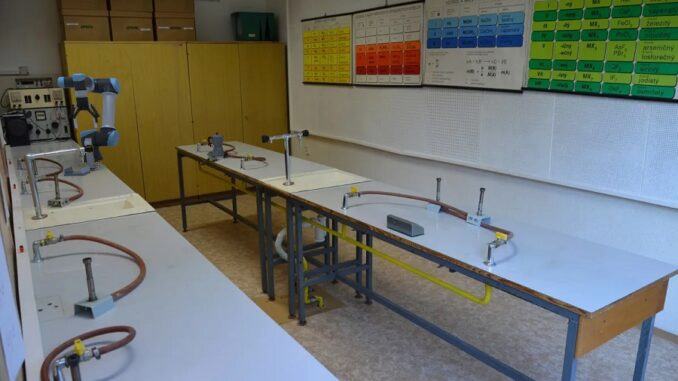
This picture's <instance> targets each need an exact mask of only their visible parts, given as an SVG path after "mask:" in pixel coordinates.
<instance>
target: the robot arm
mask: <svg viewBox="0 0 678 381" xmlns="http://www.w3.org/2000/svg"><path fill="white" fill-rule="evenodd" d="M57 86H58V87H59V88H60V89H74V95H75V103H76V104H75V103H73V104H72V105H71V109H70V113H69V116H68V118H69V119H72V124H73V125H74V129H78V128H79V126H78V120H77V118H76V117H78V115H79V114H80V112H81V111H84V112H85V111H86V112H88V113H89V114H90V115H91V116H92V118H93V119H92V120H93V126H94V129H88V130H83V131H80V133H79V134H80V136H79V137H80V144H81V148H82V147H84V146H85V144H84V142H85V138H91V140H92V145H93V147H94V150H93V154H94V159H95V162H100V161H103V160H104V156H103V154H102V152H101V150H100V147H116V146H117V145H118V143H119V141H120V132H119V131H118V130H117V128H116V127H115V122H116V121H115V118H116V98H118V96H119V94H120V93H121V92H122V88H121V83H120V81H119V80H118V79H117V78H114V77H107V78H106V77H105V78H103V77H101V78H93V77H92V76H89V75H85V74H84V73H72V76H59V77H58V78H57ZM88 93H93V94H101V96H102V121H101V126H100V127H99V130H97V129H96V128H98V123H99V120H98V118H100V117H101V115H100V114H99V112H98V110H97V108H96V107H95V104H94V103H89V98H88ZM84 161H85V162H84V163H87V157H86V153H85V155H84Z"/></svg>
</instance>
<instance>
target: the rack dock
mask: <svg viewBox="0 0 678 381" xmlns="http://www.w3.org/2000/svg"><path fill="white" fill-rule="evenodd" d="M86 166H87V167H86ZM86 166H85V167H82V168H81V169H80V170H73V166H72V165H71V166H68V167H66V168H63V169H62V171H63V177H73V176H74V177H76V176H77V177H78V176H79V177H80V176H86V175H89V174H90V173H91V170H90V166H88V165H86Z"/></svg>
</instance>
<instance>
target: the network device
mask: <svg viewBox="0 0 678 381" xmlns="http://www.w3.org/2000/svg"><path fill="white" fill-rule="evenodd" d="M84 144H85V146H87V145H92V140H91V138H85V142H84ZM86 157H87V162H86V163H87V164H86V165H85V167H87V166H90V168H91V169H90V171H96V170H97V171H98V170H100V165H99V164H96V161H95V159H94V154H93V152H91V153H86Z"/></svg>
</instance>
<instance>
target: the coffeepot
mask: <svg viewBox="0 0 678 381" xmlns="http://www.w3.org/2000/svg"><path fill="white" fill-rule="evenodd" d="M224 137H225V135H220V134H219V132H215V134H214V135H211V136H208V137H207V138H206V139H207V142H208V145H209V147H211V148H212V157H223V156H225V151H224V148H223V144H224V143H223V141H224ZM211 142H212V144H211Z"/></svg>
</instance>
